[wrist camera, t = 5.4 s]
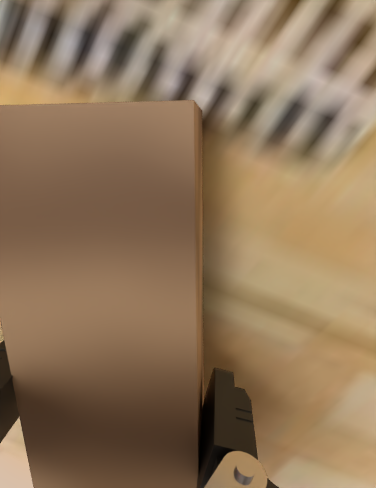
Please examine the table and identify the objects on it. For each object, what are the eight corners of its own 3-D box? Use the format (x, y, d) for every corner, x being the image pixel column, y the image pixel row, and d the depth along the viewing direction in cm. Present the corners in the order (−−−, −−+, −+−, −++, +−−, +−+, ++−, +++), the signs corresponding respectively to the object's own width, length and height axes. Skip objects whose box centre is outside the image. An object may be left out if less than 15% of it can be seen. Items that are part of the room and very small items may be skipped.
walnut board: (40, 114, 12) (-43, 106, 8) (202, 110, 12) (193, 100, 8) (92, 503, 17) (57, 606, 14) (204, 511, 17) (200, 620, 13)
